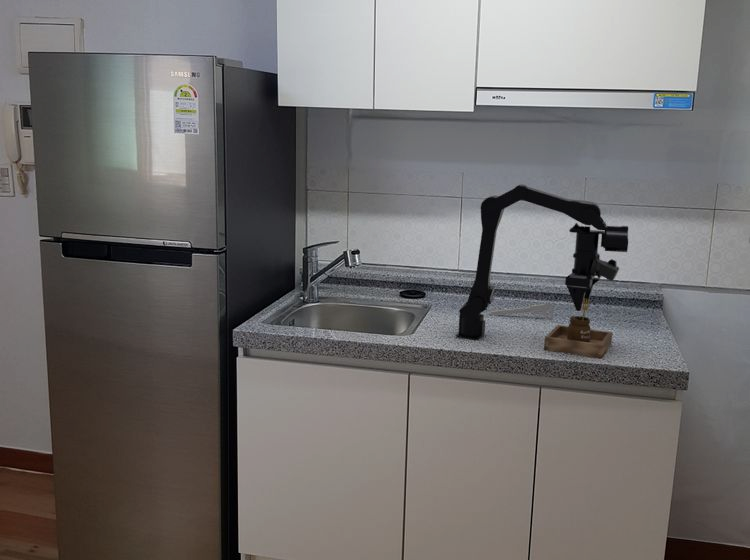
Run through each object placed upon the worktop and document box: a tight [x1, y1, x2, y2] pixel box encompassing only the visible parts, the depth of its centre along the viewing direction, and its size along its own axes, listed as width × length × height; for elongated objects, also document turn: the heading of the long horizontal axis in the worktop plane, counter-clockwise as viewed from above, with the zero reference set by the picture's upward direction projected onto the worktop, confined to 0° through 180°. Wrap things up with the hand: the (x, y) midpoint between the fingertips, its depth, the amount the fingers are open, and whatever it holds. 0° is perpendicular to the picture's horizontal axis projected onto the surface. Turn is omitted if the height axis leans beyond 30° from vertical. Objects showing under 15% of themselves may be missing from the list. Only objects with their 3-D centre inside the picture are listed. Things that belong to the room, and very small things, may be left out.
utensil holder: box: [567, 298, 591, 343], centre depth 197 cm, size 6×6×12 cm
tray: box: [543, 324, 613, 359], centre depth 198 cm, size 15×15×4 cm
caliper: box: [486, 300, 554, 321], centre depth 230 cm, size 20×1×6 cm, turn 78°
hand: (581, 307), depth 196 cm, fingers open, 9 cm apart
